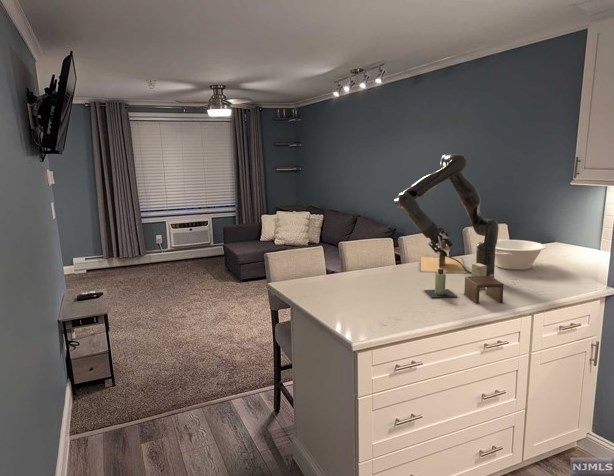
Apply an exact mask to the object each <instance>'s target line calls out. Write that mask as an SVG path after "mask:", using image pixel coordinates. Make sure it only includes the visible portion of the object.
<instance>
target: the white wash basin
mask: <svg viewBox="0 0 614 476" xmlns="http://www.w3.org/2000/svg"><path fill="white" fill-rule="evenodd" d="M545 249H547V246H546V245H545V244H543V243H541V242H537V241H531V240H523V239H522V240H521V239H497V245H496V248H495V267H498V268H500V269H503V270H508V271H509V270H510V271H525V270H529V269H531V268H532V266H533V265H534V263H535V261H536V259H537V258H538V257H539V255H540V253H541V251H543V250H545Z"/></svg>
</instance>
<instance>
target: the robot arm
mask: <svg viewBox="0 0 614 476" xmlns="http://www.w3.org/2000/svg"><path fill="white" fill-rule="evenodd" d="M466 167H467V158H466V157H465V155H462V154H458V153H446V154H444V155H442V157H441V158H440V169H438V170H437V171H435V172H433V173H430V174H428V175H426V176H423V177H422V178H420V179H419V180H417V181H416V182H415V183H413V184H412V185H411V186H410V187H408V188H406V189H405V190H403V191H402V192H400V193H399V194H397V195H396V196H395V198H394V205H395V207H396V208H398V209H402V210H403V209H404V210H405V211H406V213H407V216H408V219H409V220H410V221H411V222H412V223H413V224H414V225H415V226H416V228H417V229H418V230H419V231H420V232H421V235H423V236H424V237H425V239H429V240H430V241H429V242H428V246H429V247H430V248H431V249H432V251H433V252H434V253H435V254H436V253H437V252H440V254H441V255H442V256H443V257H445V258H452V259H454V258H455V257H452V256H449V255H448V252H447V253H446V252H445V251H444V250H443V249H442V246H441V245H442V244H441V241H442V240H443V241H444V242H445V243H446V245H448V246H449V248H451V247H453V245H454V244H453V242H452V241H451V240H450V239H449V234H448V233H447V231H446V232H445V229H444V228H443V227H442V226H440V227H439V226H438V225H437V224H436V223H435V222H434V220H433V219H432V218H431V217H430V216H429V215H428V214H426V213H425V211H424V210H423V209H422V208H421V207H420V205H419V203H418V202H417V199H420V198H422V197H424V196H425V195H426V194H427V193H429V192H430V191H431V190H432V189H434V188H436V187H437V186H438V185H440V184H442V183H444V182H445V181H447V180H449V182H450V183H451V185H452V187H453V189H454V191H455V192H456V194H457V196H458V199H459V201H460V202H461V204H462V206H463V208H464V209H465V212H466V214H467V216H468V218H469V220H470V224H471V226H472V229H473V230H474V233H476V235H478V236H482V237H484V238H483V241H480V242H478V243H476V254H475V263H480V264H483V265H486V266H487V272H486V276H491V277H493V278H494V279H495V269H496V268H495V267H496V265H495V248H496V245H497V240H499V239H498V237H499V231H500V230H499V229H500V227H499V222H498V221H497V220H495V219H492V218H485V217H484V216H483V215H482V213H481V210H480V208H481V203H482V198H481V195H480V193H479V191H478V189H477V187H476V186H475V185H474V184H473V183H472V182H471V181H470V180H469V179H468V178H467V177H466V176H465V175H464V174H463V172H464V171H465V170H466ZM444 234H445V235H444ZM438 246H439V247H438ZM454 260H456V259H454ZM456 261H458V260H456ZM458 262H459V263H460V264H461V265H462V266H463V265H464V263H463V264H462V263H461V262H460V261H458ZM463 268H464V269H465V271H466V273H469V274H471V272H472V271H469V270H468V269H466V267H465V265H464V266H463Z"/></svg>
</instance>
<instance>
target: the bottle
mask: <svg viewBox="0 0 614 476" xmlns="http://www.w3.org/2000/svg"><path fill="white" fill-rule="evenodd" d="M443 271H444V269H438V272H434V290H435V294H439V295H443V294H445V289H446V285H447V284H446V282H447V281H446V280H447V274H446V273H447V272H443Z"/></svg>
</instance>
